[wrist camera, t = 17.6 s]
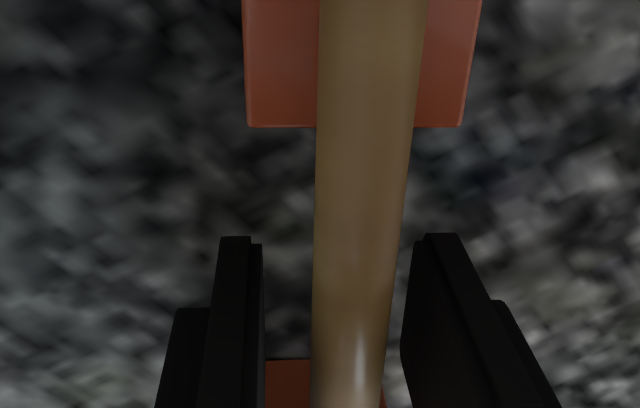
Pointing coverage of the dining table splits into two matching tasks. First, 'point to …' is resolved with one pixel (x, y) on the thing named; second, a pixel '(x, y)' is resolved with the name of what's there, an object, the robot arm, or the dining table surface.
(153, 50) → the dining table surface
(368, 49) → the tan wooden rod
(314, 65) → the red blocks
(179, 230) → the dining table surface
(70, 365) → the dining table surface
